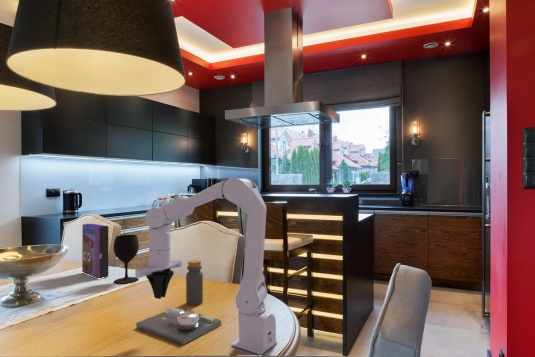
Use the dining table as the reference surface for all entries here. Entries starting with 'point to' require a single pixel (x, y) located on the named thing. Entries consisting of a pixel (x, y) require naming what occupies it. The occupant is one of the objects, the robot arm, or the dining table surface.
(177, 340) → the lever base plate
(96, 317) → the dining table surface
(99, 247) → the cereal box
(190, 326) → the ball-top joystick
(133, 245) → the wine glass
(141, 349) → the dining table surface
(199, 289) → the bottle
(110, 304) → the dining table surface
